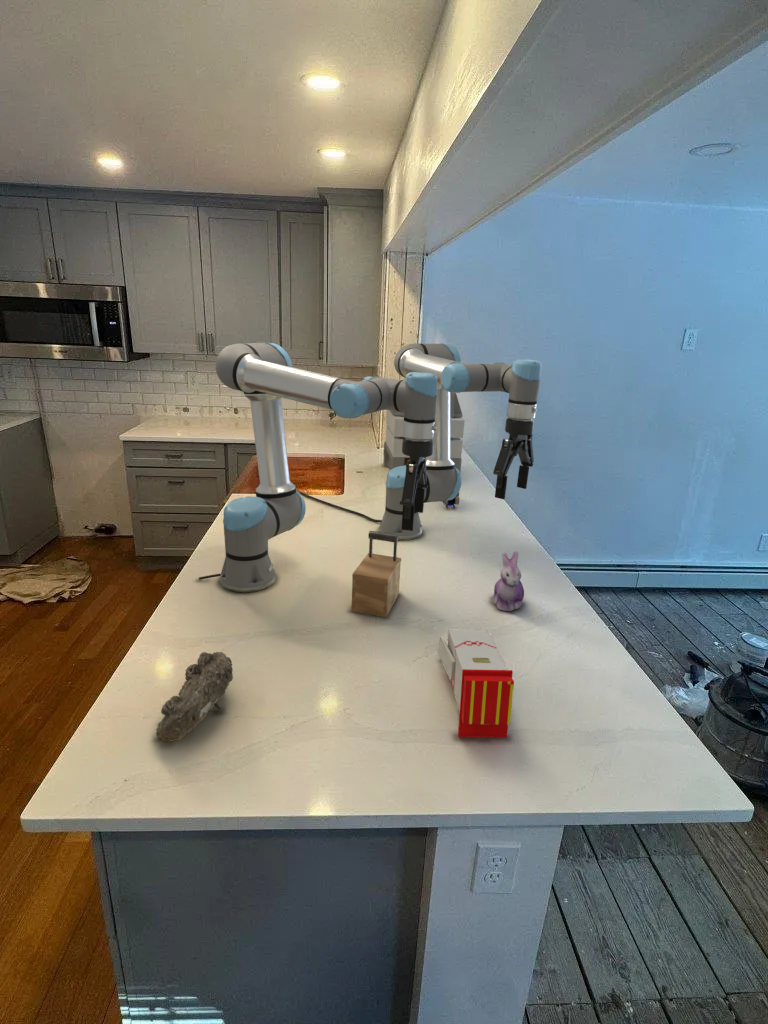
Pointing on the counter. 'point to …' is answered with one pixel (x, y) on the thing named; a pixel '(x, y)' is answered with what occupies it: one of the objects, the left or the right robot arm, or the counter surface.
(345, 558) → the counter surface
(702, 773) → the counter surface
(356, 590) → the chest
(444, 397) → the right robot arm
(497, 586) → the figurine
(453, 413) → the white slatted crate
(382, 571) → the lid
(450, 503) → the figurine character
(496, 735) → the toy
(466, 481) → the counter surface
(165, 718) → the fossil
